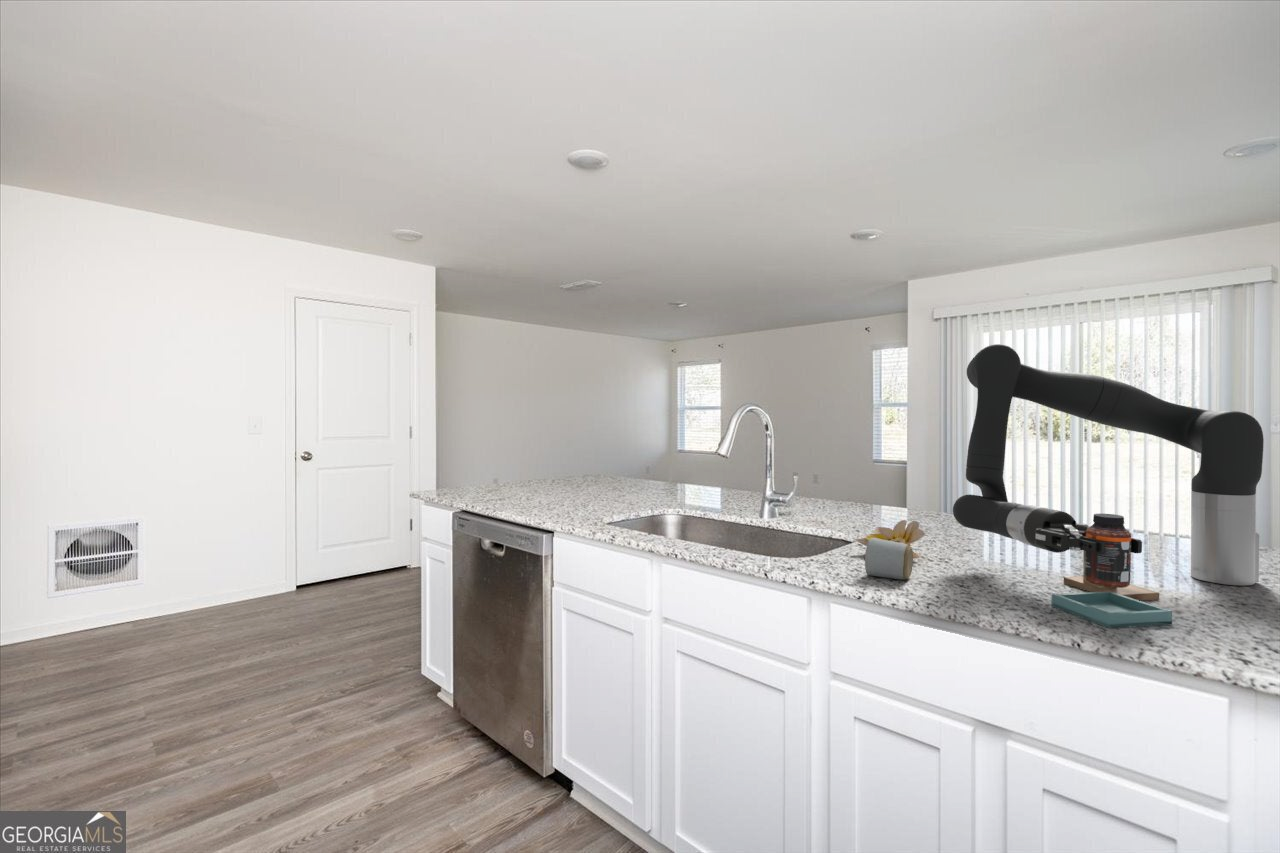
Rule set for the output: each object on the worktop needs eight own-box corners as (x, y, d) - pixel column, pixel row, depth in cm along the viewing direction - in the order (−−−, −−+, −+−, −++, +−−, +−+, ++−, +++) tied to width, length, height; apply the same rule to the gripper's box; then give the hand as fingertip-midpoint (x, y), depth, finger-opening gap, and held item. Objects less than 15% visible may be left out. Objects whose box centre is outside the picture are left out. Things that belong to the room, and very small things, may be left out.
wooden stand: (1100, 581, 122) (1100, 534, 122) (1159, 599, 110) (1159, 547, 110) (1063, 583, 121) (1063, 536, 120) (1119, 601, 109) (1119, 549, 109)
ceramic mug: (907, 584, 121) (907, 544, 121) (864, 578, 125) (864, 540, 125) (917, 573, 130) (917, 536, 130) (876, 568, 134) (876, 532, 134)
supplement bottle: (1138, 590, 98) (1140, 519, 98) (1096, 587, 99) (1097, 517, 99) (1117, 579, 104) (1119, 512, 104) (1077, 577, 105) (1079, 511, 105)
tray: (1109, 603, 108) (1109, 591, 108) (1172, 624, 97) (1172, 611, 97) (1051, 606, 106) (1051, 594, 106) (1109, 628, 95) (1109, 614, 95)
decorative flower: (844, 543, 151) (855, 503, 151) (886, 552, 153) (897, 513, 152) (876, 561, 136) (888, 518, 136) (922, 571, 138) (934, 528, 138)
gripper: (1005, 508, 115) (1082, 525, 98) (1075, 506, 117) (1162, 523, 100) (1005, 548, 115) (1081, 572, 98) (1074, 546, 117) (1161, 569, 100)
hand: (1121, 547), depth 99 cm, fingers closed on supplement bottle, 6 cm apart
